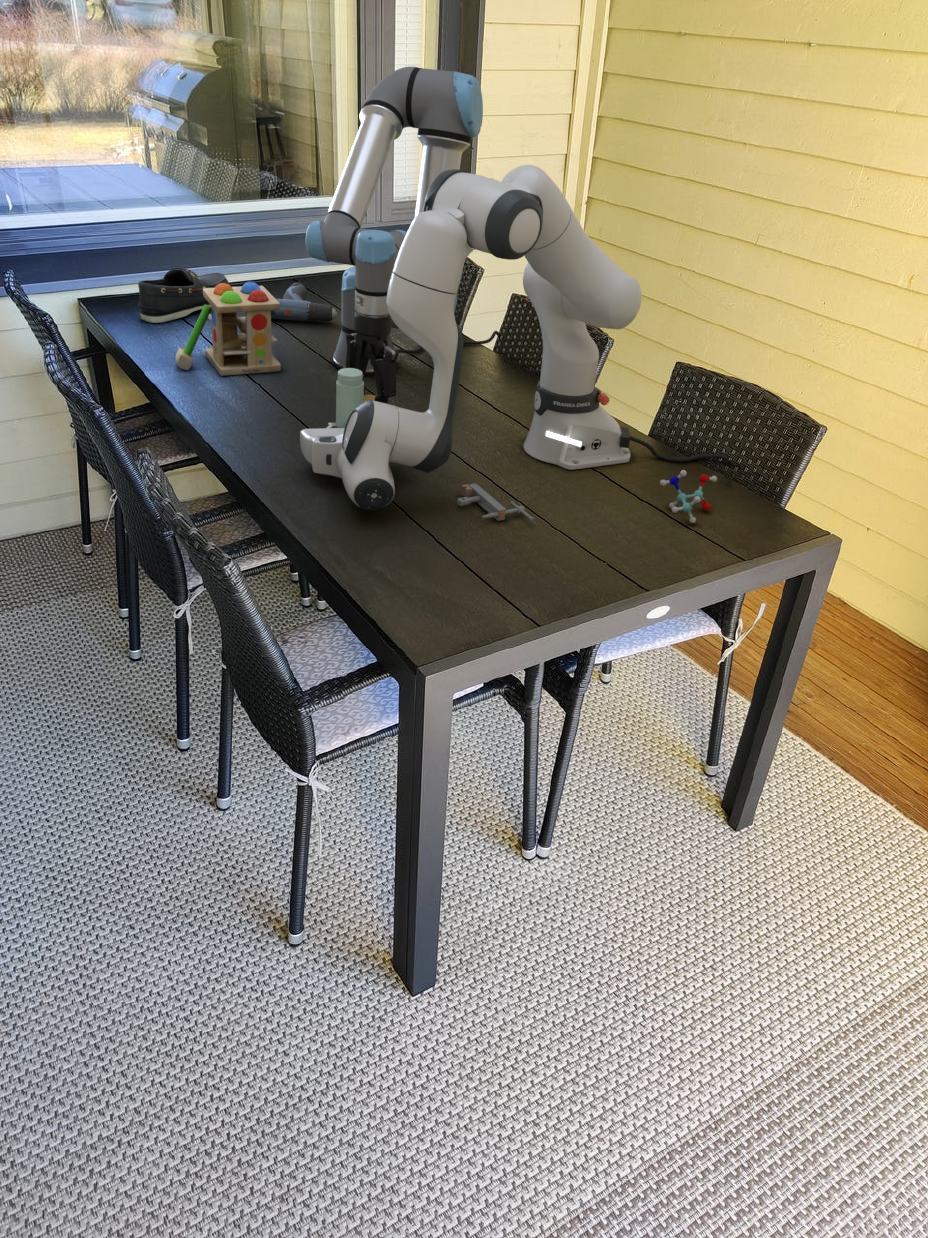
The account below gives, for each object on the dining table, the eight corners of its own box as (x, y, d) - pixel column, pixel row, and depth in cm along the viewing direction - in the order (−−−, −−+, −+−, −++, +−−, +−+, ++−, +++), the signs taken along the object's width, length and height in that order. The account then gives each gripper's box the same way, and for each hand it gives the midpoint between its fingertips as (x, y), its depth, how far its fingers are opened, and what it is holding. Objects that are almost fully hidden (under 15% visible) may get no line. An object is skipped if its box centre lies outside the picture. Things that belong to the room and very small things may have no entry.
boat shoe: (248, 301, 272) (246, 262, 267) (158, 325, 248) (153, 283, 243) (214, 293, 278) (211, 255, 272) (123, 315, 254) (117, 274, 248)
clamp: (448, 487, 182) (493, 478, 187) (447, 497, 184) (492, 489, 188) (489, 523, 172) (536, 514, 177) (488, 534, 173) (535, 524, 178)
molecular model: (721, 517, 179) (705, 464, 177) (670, 531, 182) (655, 480, 181) (726, 508, 189) (711, 458, 188) (678, 522, 193) (663, 473, 191)
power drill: (344, 304, 276) (335, 327, 259) (277, 298, 275) (264, 321, 258) (344, 285, 273) (335, 306, 256) (277, 279, 272) (264, 300, 255)
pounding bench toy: (183, 379, 220) (176, 299, 210) (169, 357, 231) (162, 280, 221) (282, 371, 230) (280, 294, 220) (264, 350, 240) (262, 276, 230)
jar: (346, 448, 198) (348, 365, 188) (367, 456, 196) (369, 372, 186) (330, 456, 194) (330, 371, 185) (350, 464, 192) (352, 379, 182)
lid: (365, 402, 213) (366, 392, 212) (389, 409, 211) (389, 399, 210) (348, 410, 209) (349, 400, 208) (372, 417, 206) (373, 407, 205)
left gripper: (328, 302, 201) (326, 409, 214) (391, 328, 191) (386, 439, 204) (355, 297, 206) (352, 402, 219) (419, 322, 196) (412, 430, 208)
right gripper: (415, 438, 182) (401, 409, 193) (304, 441, 177) (296, 411, 188) (413, 469, 186) (399, 439, 197) (305, 473, 181) (296, 441, 192)
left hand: (368, 419), depth 211 cm, fingers closed on lid, 6 cm apart
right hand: (348, 425), depth 192 cm, fingers closed on jar, 5 cm apart
